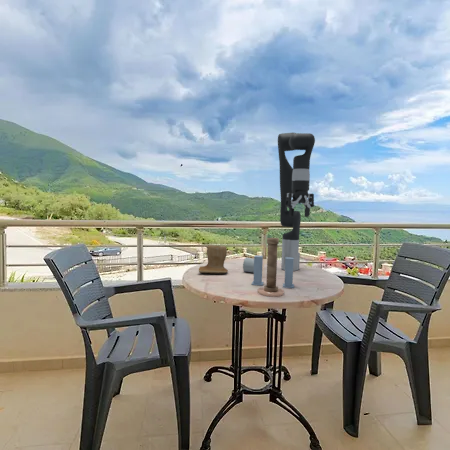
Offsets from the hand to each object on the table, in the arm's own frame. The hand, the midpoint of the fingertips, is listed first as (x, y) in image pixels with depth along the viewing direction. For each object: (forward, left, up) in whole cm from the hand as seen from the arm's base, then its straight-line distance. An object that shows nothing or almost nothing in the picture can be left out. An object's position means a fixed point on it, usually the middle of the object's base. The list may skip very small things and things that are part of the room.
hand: (299, 216), depth 143 cm
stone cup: (+22, -40, -32) cm, 56 cm away
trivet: (+16, +3, -32) cm, 36 cm away
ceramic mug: (+2, -35, -32) cm, 47 cm away
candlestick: (+16, +3, -31) cm, 35 cm away
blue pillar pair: (+8, -7, -32) cm, 33 cm away
